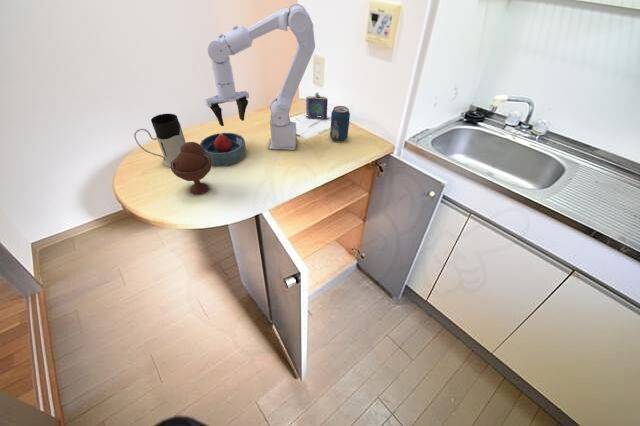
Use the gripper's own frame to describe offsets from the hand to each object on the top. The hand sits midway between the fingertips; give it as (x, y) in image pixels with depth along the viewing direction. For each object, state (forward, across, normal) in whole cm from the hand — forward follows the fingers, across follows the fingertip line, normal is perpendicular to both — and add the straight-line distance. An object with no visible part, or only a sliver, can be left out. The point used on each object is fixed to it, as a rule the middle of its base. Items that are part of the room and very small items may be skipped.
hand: (232, 122), depth 102 cm
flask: (+10, +40, +3) cm, 41 cm away
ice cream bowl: (+10, -21, -18) cm, 29 cm away
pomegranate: (+9, -6, -4) cm, 12 cm away
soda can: (+10, +36, -17) cm, 41 cm away
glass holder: (+10, -23, +2) cm, 25 cm away
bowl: (+9, -6, -4) cm, 12 cm away
